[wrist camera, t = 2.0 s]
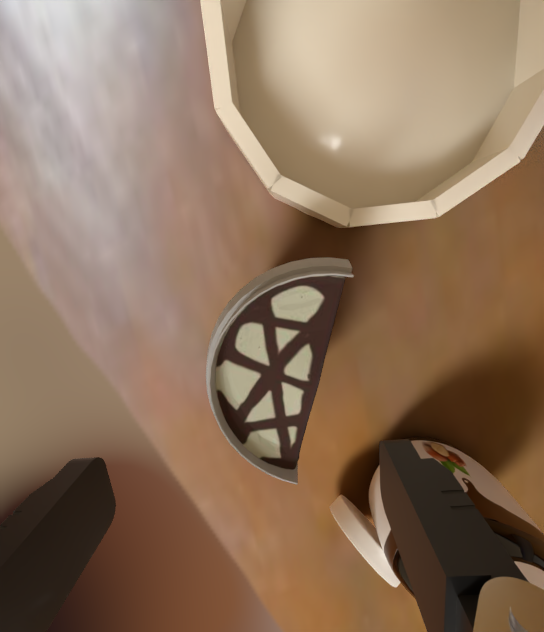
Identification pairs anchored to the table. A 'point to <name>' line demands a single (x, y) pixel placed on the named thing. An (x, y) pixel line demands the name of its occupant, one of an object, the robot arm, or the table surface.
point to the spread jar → (482, 488)
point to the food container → (273, 360)
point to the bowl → (377, 99)
